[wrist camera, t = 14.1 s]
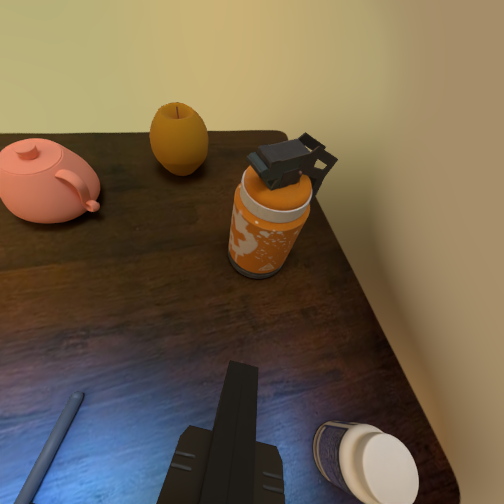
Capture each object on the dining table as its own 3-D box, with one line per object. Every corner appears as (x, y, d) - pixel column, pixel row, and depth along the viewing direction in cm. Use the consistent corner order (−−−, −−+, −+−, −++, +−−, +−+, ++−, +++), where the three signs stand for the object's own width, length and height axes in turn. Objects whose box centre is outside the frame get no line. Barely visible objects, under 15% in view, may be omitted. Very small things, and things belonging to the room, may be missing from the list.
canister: (218, 243, 40) (224, 124, 23) (275, 221, 44) (315, 107, 27) (244, 290, 37) (275, 190, 20) (304, 262, 41) (371, 159, 24)
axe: (76, 390, 28) (71, 389, 27) (113, 399, 28) (110, 399, 27) (-19, 572, 20) (-31, 581, 19) (32, 585, 20) (22, 594, 19)
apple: (217, 181, 47) (219, 121, 37) (165, 193, 44) (152, 131, 34) (199, 149, 51) (196, 87, 41) (150, 157, 48) (135, 93, 38)
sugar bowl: (62, 164, 44) (26, 106, 35) (130, 196, 42) (110, 143, 34) (-4, 211, 37) (-68, 152, 29) (74, 250, 36) (31, 201, 27)
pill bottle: (331, 498, 26) (389, 542, 17) (302, 437, 28) (341, 450, 20) (371, 464, 28) (441, 489, 19) (340, 410, 30) (391, 411, 22)
